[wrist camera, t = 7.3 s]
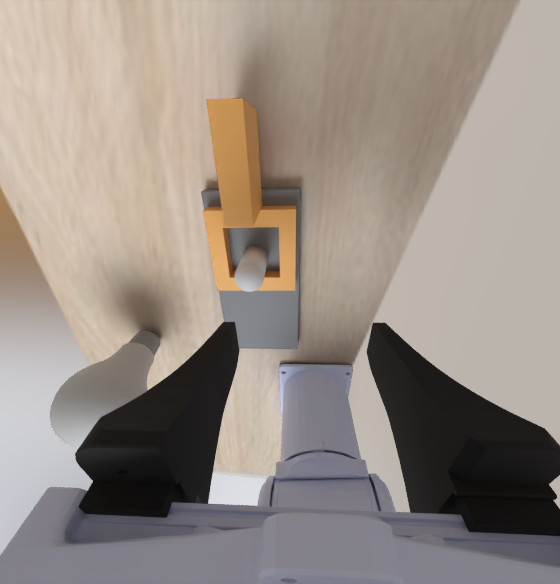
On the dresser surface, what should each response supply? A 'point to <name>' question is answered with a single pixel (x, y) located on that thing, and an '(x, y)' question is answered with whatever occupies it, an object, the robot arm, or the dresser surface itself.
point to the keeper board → (262, 305)
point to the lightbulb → (102, 388)
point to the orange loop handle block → (244, 196)
